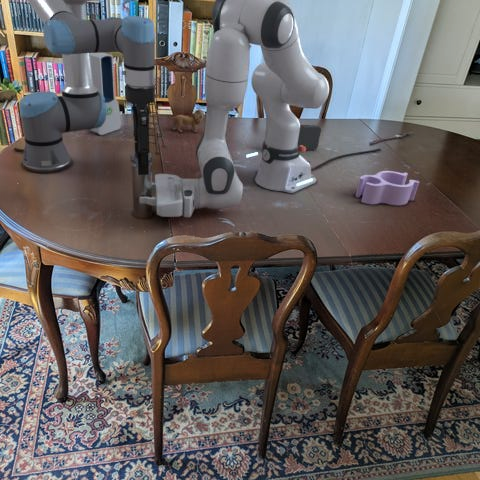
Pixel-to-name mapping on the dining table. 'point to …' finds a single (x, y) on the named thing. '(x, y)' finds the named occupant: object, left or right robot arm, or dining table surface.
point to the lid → (135, 158)
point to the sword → (389, 138)
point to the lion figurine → (189, 120)
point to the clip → (386, 188)
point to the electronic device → (105, 90)
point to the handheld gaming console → (309, 136)
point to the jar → (141, 191)
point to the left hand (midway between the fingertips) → (141, 169)
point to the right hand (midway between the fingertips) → (139, 193)
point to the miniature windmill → (154, 120)
